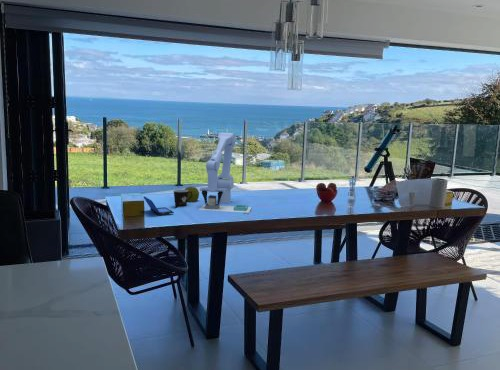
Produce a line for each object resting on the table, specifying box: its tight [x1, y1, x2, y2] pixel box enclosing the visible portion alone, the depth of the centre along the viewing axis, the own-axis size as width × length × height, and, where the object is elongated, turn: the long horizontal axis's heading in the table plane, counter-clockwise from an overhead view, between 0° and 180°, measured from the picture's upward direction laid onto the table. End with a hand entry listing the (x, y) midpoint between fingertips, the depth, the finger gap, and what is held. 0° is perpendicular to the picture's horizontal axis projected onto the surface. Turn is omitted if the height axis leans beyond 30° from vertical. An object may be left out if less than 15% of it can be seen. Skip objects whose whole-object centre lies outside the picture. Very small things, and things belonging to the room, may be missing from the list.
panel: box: [198, 202, 253, 215], centre depth 272 cm, size 14×29×3 cm, turn 83°
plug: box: [207, 194, 217, 206], centre depth 272 cm, size 4×4×7 cm
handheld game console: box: [143, 196, 175, 217], centre depth 261 cm, size 16×13×9 cm
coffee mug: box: [173, 188, 192, 209], centre depth 276 cm, size 12×9×10 cm
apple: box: [184, 186, 200, 203], centre depth 290 cm, size 10×10×11 cm
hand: (212, 203), depth 273 cm, fingers open, 7 cm apart
